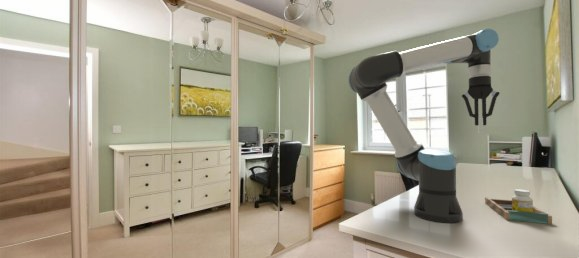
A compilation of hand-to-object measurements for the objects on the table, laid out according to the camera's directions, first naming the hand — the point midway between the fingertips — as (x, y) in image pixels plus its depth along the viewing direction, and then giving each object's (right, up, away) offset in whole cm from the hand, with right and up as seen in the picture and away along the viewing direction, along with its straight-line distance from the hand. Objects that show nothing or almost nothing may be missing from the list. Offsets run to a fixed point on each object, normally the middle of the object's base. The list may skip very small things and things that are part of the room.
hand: (480, 133), depth 107 cm
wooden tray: (+4, -29, -11) cm, 32 cm away
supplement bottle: (+1, -29, -18) cm, 34 cm away
